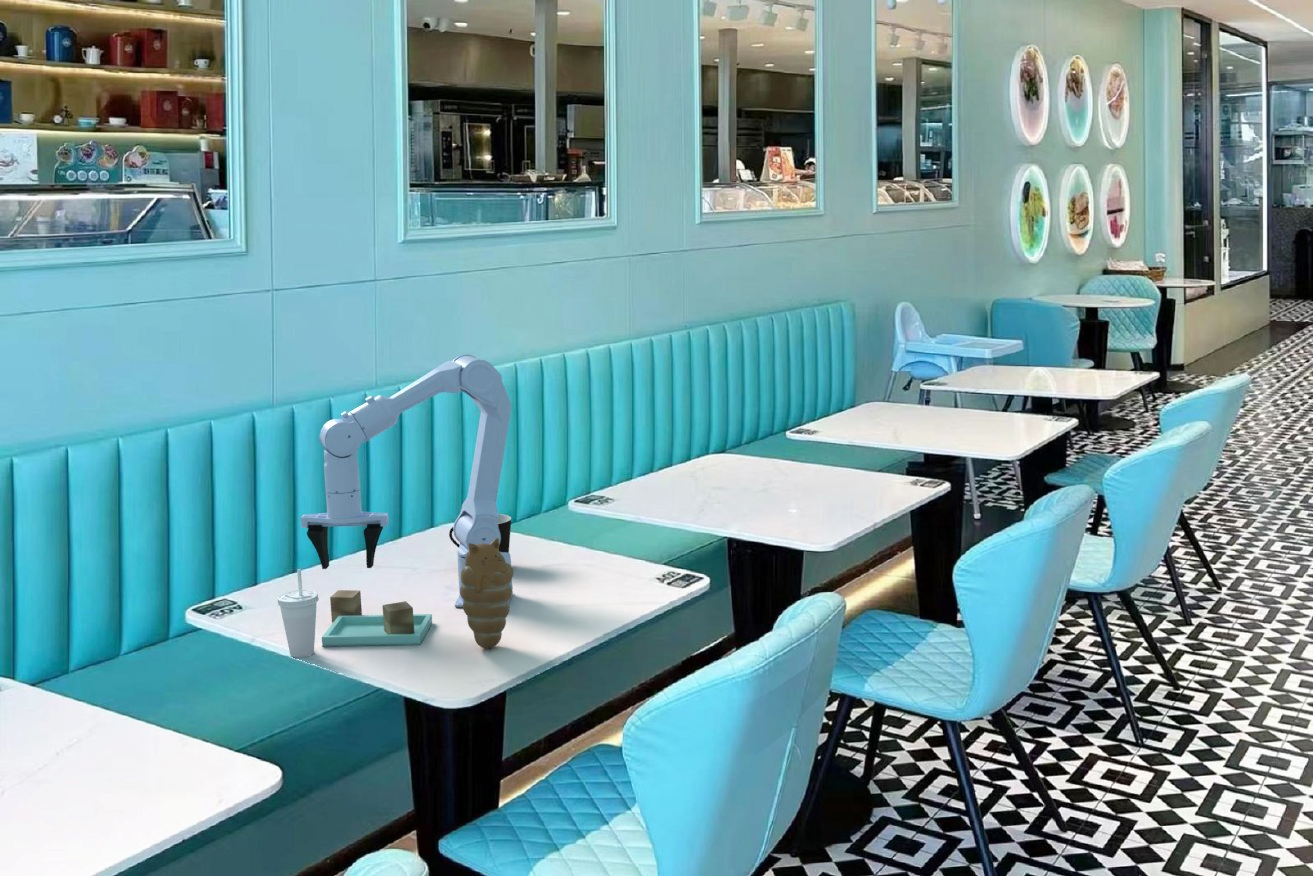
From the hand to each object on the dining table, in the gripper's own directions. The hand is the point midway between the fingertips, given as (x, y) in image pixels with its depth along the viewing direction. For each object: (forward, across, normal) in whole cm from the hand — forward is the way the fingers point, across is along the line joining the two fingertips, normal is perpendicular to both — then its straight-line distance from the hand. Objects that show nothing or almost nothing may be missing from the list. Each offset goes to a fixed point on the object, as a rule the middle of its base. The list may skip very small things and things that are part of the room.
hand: (348, 567), depth 226 cm
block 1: (+10, +1, -1) cm, 10 cm away
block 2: (+9, -10, +8) cm, 16 cm away
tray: (+10, -6, +8) cm, 14 cm away
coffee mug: (+10, -19, -30) cm, 37 cm away
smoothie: (+10, +4, +16) cm, 20 cm away
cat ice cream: (+10, -26, +16) cm, 32 cm away
